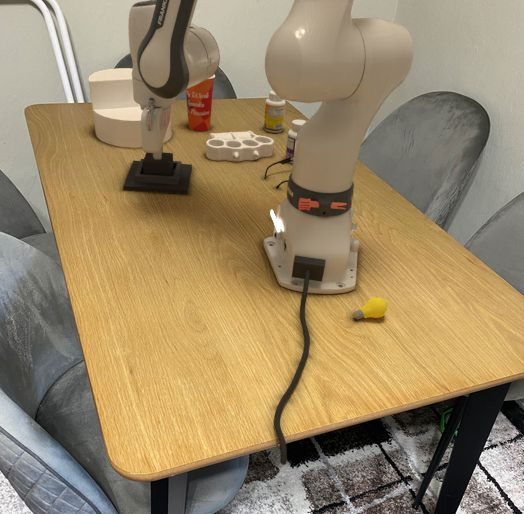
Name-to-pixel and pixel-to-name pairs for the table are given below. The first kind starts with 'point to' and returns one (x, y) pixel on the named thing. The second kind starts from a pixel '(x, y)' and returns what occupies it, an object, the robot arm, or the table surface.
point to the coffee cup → (200, 105)
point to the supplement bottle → (274, 113)
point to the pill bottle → (293, 137)
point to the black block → (158, 165)
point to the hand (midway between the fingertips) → (158, 157)
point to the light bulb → (372, 309)
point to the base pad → (159, 179)
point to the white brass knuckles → (238, 146)
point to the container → (117, 108)
